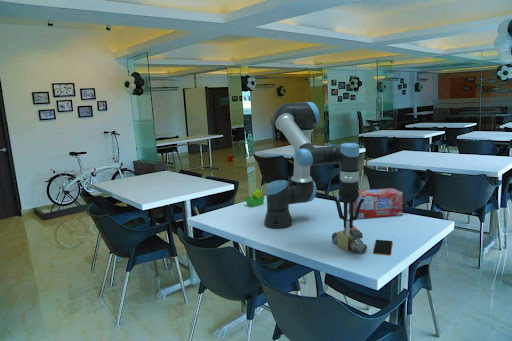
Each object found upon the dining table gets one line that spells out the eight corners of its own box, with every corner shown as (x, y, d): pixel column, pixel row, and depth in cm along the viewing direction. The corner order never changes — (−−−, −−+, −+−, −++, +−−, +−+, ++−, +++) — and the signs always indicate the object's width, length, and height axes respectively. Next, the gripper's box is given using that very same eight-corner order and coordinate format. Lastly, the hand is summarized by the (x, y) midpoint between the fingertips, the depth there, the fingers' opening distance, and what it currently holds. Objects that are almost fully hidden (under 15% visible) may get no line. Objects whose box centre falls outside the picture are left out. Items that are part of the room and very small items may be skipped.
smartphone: (372, 254, 169) (372, 252, 169) (375, 241, 185) (375, 239, 184) (391, 256, 167) (391, 254, 166) (392, 242, 182) (392, 240, 182)
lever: (354, 242, 163) (354, 234, 162) (343, 230, 178) (343, 222, 177) (362, 242, 163) (362, 233, 163) (351, 230, 178) (351, 222, 177)
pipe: (329, 245, 184) (329, 228, 182) (341, 241, 187) (340, 225, 186) (356, 257, 168) (356, 239, 167) (368, 254, 172) (369, 235, 170)
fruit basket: (257, 202, 260) (256, 185, 258) (267, 204, 254) (266, 187, 251) (244, 206, 252) (243, 188, 250) (254, 208, 246) (253, 190, 244)
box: (392, 209, 231) (393, 187, 228) (403, 216, 218) (403, 192, 216) (347, 213, 228) (347, 190, 226) (355, 220, 216) (355, 195, 213)
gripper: (331, 181, 162) (331, 236, 167) (363, 183, 158) (362, 239, 162) (335, 178, 169) (334, 230, 174) (366, 179, 164) (364, 233, 169)
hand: (348, 234), depth 168 cm, fingers closed
